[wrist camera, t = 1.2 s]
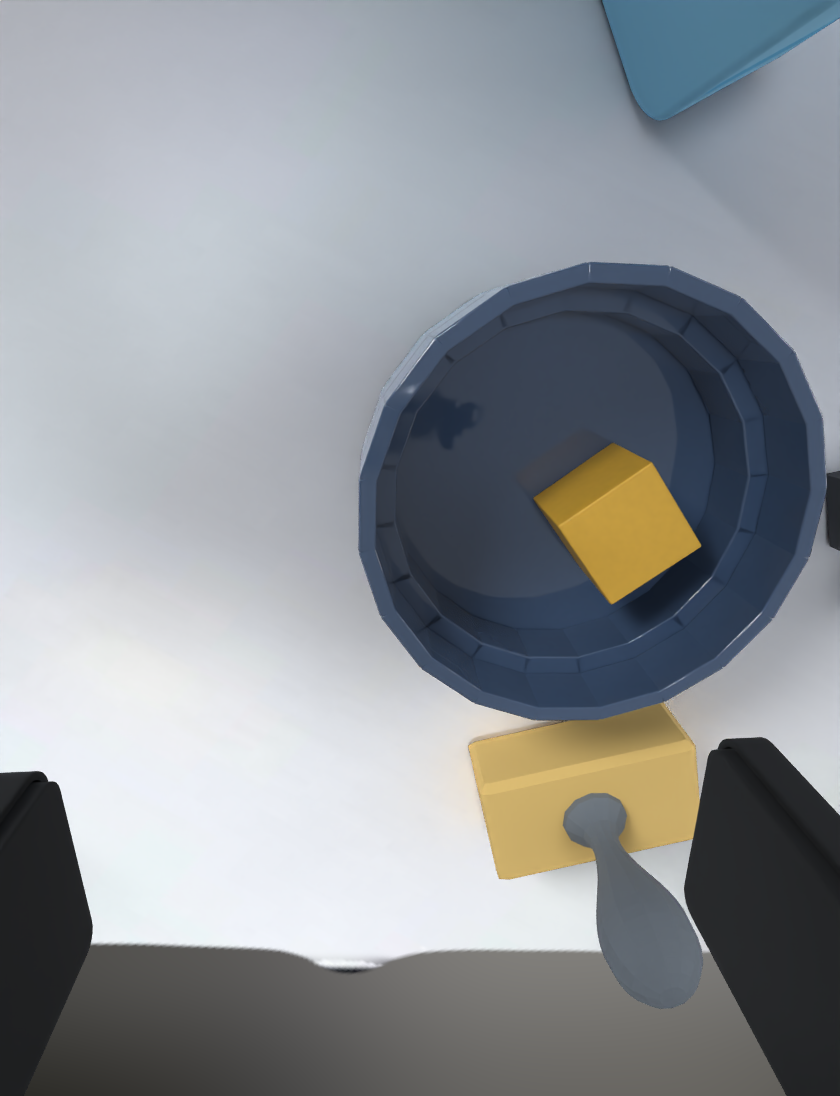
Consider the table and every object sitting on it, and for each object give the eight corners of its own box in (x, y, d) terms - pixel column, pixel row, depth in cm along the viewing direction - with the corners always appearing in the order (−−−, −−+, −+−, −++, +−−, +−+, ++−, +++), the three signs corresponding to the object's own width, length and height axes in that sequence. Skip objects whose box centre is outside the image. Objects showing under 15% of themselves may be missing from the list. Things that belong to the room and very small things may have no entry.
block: (532, 497, 27) (557, 526, 23) (612, 441, 26) (652, 461, 23) (580, 567, 28) (611, 606, 24) (658, 515, 28) (702, 546, 24)
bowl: (308, 344, 25) (290, 351, 19) (710, 222, 24) (811, 194, 19) (421, 685, 31) (431, 767, 25) (750, 592, 30) (837, 654, 24)
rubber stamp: (486, 828, 34) (543, 1082, 22) (466, 739, 32) (517, 970, 20) (670, 787, 34) (819, 1023, 22) (661, 695, 32) (820, 903, 20)
